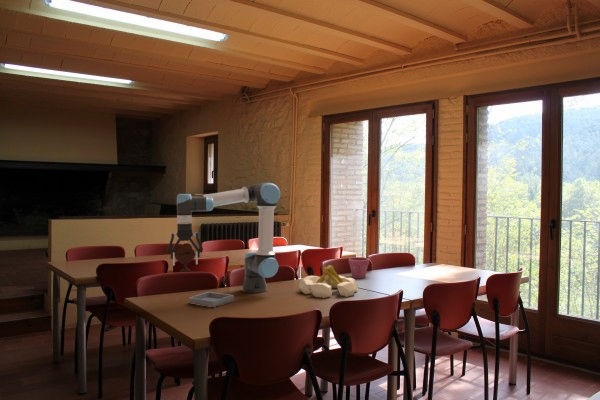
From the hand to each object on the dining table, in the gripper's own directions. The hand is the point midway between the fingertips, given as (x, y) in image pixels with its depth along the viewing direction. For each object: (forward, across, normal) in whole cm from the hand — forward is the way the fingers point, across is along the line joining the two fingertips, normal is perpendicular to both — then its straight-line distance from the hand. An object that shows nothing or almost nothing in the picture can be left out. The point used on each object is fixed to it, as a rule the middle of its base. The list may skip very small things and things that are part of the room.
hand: (185, 264), depth 262 cm
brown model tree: (+4, 0, 0) cm, 4 cm away
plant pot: (+24, +120, +52) cm, 133 cm away
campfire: (+23, +84, +12) cm, 88 cm away
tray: (+21, +13, 0) cm, 25 cm away
